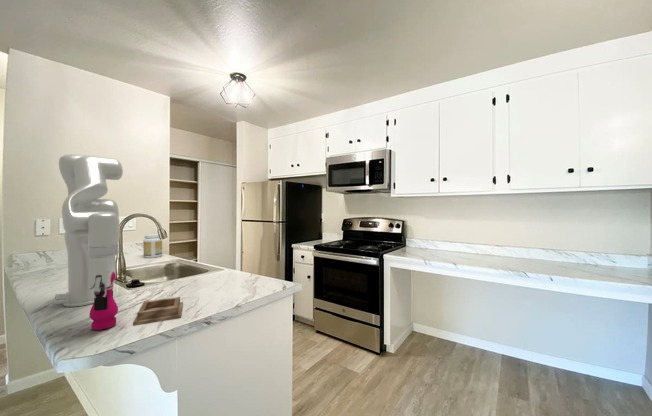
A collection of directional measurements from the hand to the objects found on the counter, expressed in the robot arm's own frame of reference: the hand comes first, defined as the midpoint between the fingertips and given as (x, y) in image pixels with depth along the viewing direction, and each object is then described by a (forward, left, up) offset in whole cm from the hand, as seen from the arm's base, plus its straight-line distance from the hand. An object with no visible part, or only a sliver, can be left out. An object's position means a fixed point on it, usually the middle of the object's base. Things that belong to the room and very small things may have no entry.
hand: (104, 305), depth 87 cm
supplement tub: (-4, +131, -7) cm, 132 cm away
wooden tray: (+15, +4, -7) cm, 17 cm away
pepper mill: (0, 0, -7) cm, 7 cm away
